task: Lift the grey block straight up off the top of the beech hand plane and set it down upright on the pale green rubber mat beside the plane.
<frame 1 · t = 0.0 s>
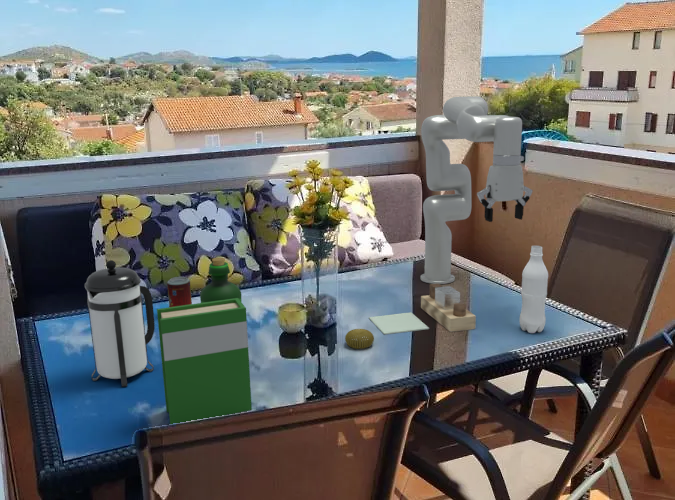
hand: (503, 219, 182), 31 cm above the table, tool pointing down, fingers open, 9 cm apart
water bottle: (531, 330, 182), on the table
hand plane: (446, 317, 193), on the table
bottle: (225, 362, 164), on the table
mat: (398, 323, 189), on the table
hardback book: (209, 411, 139), on the table
grey block: (447, 305, 192), point 4 cm above the table, touching hand plane
coffee press: (125, 373, 159), on the table
sculpture: (359, 346, 173), on the table
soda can: (181, 316, 199), on the table
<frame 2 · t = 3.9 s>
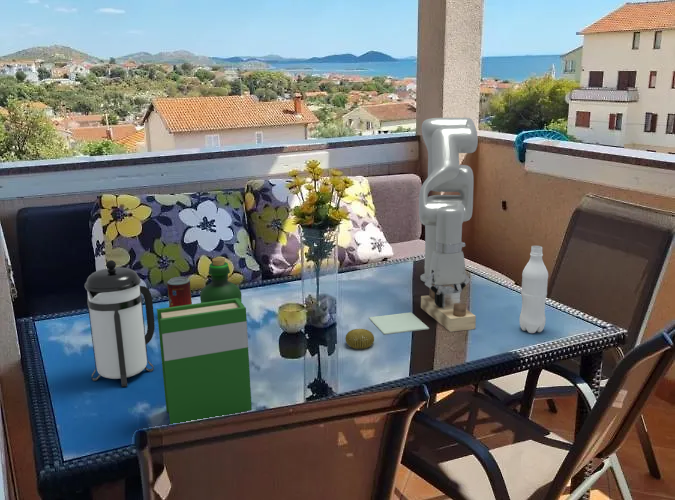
hand: (447, 304, 192), 4 cm above the table, tool pointing down, fingers closed on grey block, 5 cm apart
grey block: (447, 305, 192), point 4 cm above the table, touching gripper, hand plane
everything else where it was.
when the fingers open (2 cm above the table, at t = 11.2 s): grey block drops 1 cm, resting on mat.
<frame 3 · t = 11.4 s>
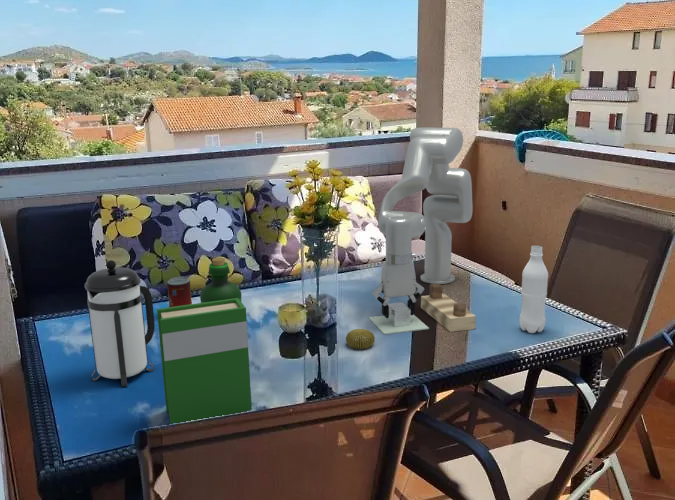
hand: (398, 314, 188), 3 cm above the table, tool pointing down, fingers open, 7 cm apart
grey block: (398, 322, 189), resting on mat
everything else where it was.
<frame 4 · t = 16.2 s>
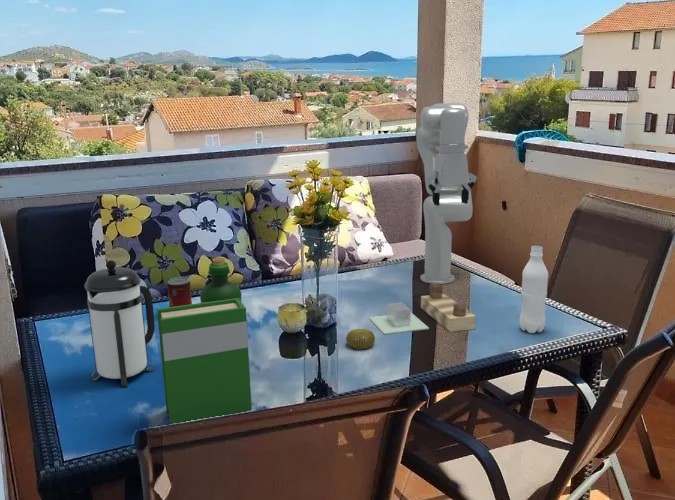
hand: (450, 203, 197), 33 cm above the table, tool pointing down, fingers open, 9 cm apart
nothing on the table moved.
at the end: grey block inside the target area (0.1 cm from its centre), resting on mat; grey block tilted 0°; the gripper is holding nothing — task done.
